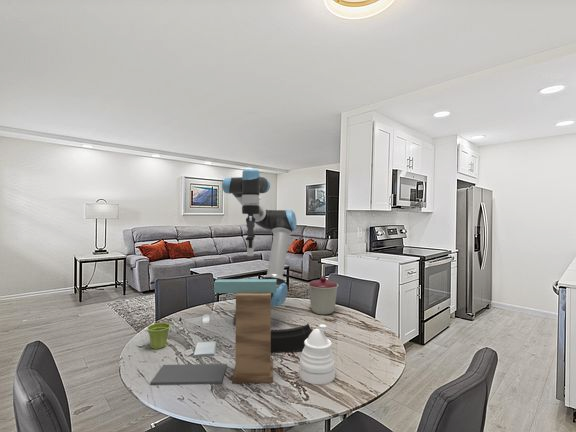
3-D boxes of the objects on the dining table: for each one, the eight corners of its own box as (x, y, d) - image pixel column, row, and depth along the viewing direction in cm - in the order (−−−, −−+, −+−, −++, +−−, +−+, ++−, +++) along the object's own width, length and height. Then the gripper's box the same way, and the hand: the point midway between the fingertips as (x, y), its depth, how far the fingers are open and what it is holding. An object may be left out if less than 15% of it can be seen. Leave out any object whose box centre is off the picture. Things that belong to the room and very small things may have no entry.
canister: (321, 305, 192) (321, 272, 192) (344, 312, 179) (344, 276, 179) (301, 311, 180) (301, 276, 180) (324, 319, 167) (324, 281, 166)
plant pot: (172, 341, 138) (172, 322, 137) (167, 350, 128) (167, 329, 128) (150, 342, 136) (150, 323, 136) (144, 351, 127) (144, 331, 127)
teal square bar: (216, 290, 111) (216, 279, 111) (276, 290, 112) (276, 279, 112) (214, 293, 107) (214, 281, 107) (276, 292, 108) (276, 281, 108)
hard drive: (214, 353, 123) (216, 340, 136) (193, 354, 122) (197, 341, 134) (214, 357, 124) (216, 344, 136) (193, 359, 122) (197, 345, 134)
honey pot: (336, 367, 115) (336, 320, 115) (333, 386, 102) (334, 333, 102) (302, 363, 118) (303, 317, 117) (296, 381, 105) (296, 330, 105)
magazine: (239, 333, 125) (308, 310, 128) (240, 330, 128) (307, 307, 131) (251, 372, 125) (319, 348, 129) (251, 368, 129) (318, 344, 132)
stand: (236, 365, 116) (236, 287, 115) (273, 365, 116) (273, 287, 116) (232, 383, 104) (232, 296, 103) (272, 382, 104) (273, 295, 104)
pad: (163, 366, 114) (163, 364, 114) (227, 365, 116) (227, 363, 116) (150, 384, 103) (150, 382, 102) (221, 383, 104) (221, 381, 104)
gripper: (259, 204, 120) (259, 257, 120) (258, 205, 145) (258, 249, 145) (240, 204, 119) (240, 257, 120) (243, 205, 144) (242, 250, 144)
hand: (250, 253), depth 132 cm, fingers open, 13 cm apart
